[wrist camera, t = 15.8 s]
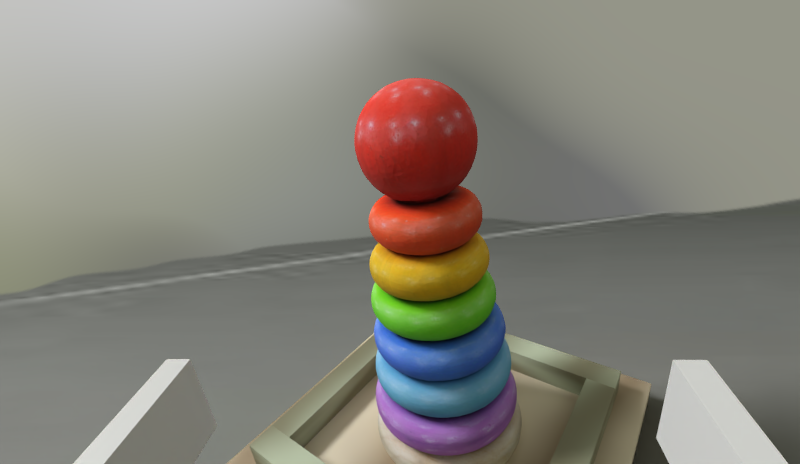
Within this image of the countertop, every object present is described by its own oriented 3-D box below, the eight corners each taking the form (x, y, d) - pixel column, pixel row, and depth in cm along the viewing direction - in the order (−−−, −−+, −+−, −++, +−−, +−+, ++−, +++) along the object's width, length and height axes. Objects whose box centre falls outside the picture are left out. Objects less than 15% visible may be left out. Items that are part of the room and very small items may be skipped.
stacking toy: (514, 376, 26) (516, 61, 19) (529, 502, 19) (542, 76, 11) (393, 372, 28) (348, 79, 20) (365, 488, 21) (279, 102, 13)
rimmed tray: (647, 402, 25) (654, 364, 24) (547, 804, 13) (551, 768, 11) (410, 317, 36) (406, 287, 34) (224, 489, 23) (208, 453, 22)
